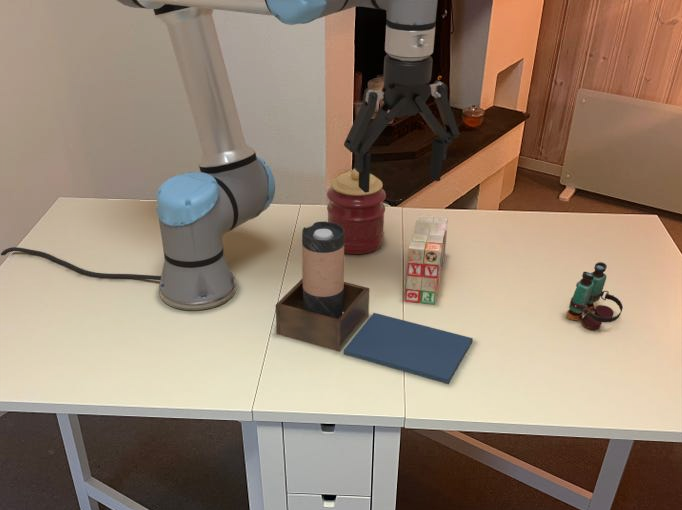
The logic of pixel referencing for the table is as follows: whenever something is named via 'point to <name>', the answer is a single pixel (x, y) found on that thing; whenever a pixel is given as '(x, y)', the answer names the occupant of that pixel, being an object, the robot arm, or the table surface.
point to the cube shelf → (322, 318)
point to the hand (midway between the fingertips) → (399, 183)
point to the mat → (409, 347)
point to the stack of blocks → (426, 259)
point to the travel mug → (323, 268)
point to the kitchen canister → (357, 212)
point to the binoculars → (592, 299)
